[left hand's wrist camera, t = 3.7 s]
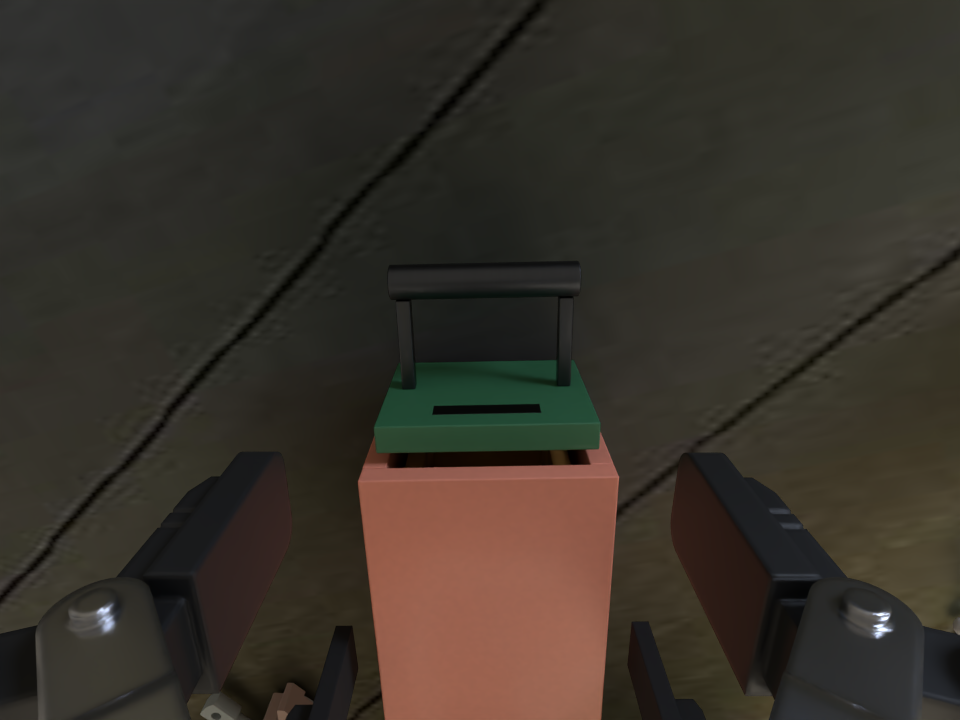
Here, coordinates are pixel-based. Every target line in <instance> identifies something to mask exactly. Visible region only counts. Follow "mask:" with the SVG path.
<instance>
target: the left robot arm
mask: <svg viewBox="0 0 960 720" xmlns="http://www.w3.org/2000/svg"><path fill="white" fill-rule="evenodd" d="M291 533H292V514H291V507H290V500H289V493H288V486H287V479H286V471H285V464H284V460H283V457H282V455H281V453H280V452H240V453H238V455H237V456H236V457H235V458H234V459H233V461H232V462H231V463H230V465H229V466H228V467H227V468H226V470H225V471H224V472H223V474H222V475H221V476H220V477H210V478H208V479H207V480H205V481H204V482H202V483H201V484H199V485H198V486H196V487H195V488H193V489H191V490H190V491H188V492H187V494H186V495H185V496H184V497H183V498H182V500H181V501H180V502H179V503H178V504H177V506H176V507H175V508H174V509H173V513H170V514H169V515H168V516H167V517H166V519H165V520H164V521H163V522H162V523H161V528H157V529H156V531H155V532H154V533H153V534H152V535H151V536H150V538H149V539H148V540H147V541H146V542H145V544H144V545H143V546H142V547H141V548H140V550H139V551H138V552H137V553H136V554H135V556H134V557H133V558H132V559H131V560H130V561H129V563H128V564H127V565H126V566H125V567H124V569H123V570H122V571H121V572H120V573H119V575H118V576H117V577H116V578H110V579H105V580H101V581H98V582H95V583H92V584H89V585H87V586H84V587H82V588H80V589H78V590H76V591H74V592H72V593H70V594H69V595H67V596H65V597H64V598H62V599H61V600H60V601H58V602H57V603H56V604H55V605H53V606H52V607H51V608H50V609H49V610H48V611H47V612H46V613H45V615H44V616H43V617H42V619H41V620H40V622H39V623H38V625H37V626H33V627H28V628H24V629H19V630H15V631H11V632H6V633H2V634H0V720H191V718H190V714H189V711H188V708H187V702H188V700H189V698H190V696H191V694H219V693H220V690H221V688H222V686H223V684H224V682H225V680H226V678H227V676H228V674H229V672H230V669H231V667H232V665H233V663H234V661H235V659H236V657H237V655H238V653H239V650H240V648H241V646H242V644H243V642H244V640H245V638H246V636H247V634H248V632H249V629H250V627H251V625H252V623H253V621H254V619H255V617H256V615H257V613H258V610H259V608H260V606H261V604H262V602H263V600H264V598H265V596H266V594H267V592H268V589H269V587H270V585H271V583H272V581H273V579H274V577H275V575H276V573H277V570H278V568H279V566H280V564H281V562H282V560H283V558H284V556H285V554H286V552H287V549H288V547H289V543H290V539H291ZM671 535H672V541H673V545H674V548H675V551H676V553H677V555H678V557H679V559H680V561H681V563H682V565H683V567H684V569H685V572H686V574H687V576H688V578H689V580H690V582H691V584H692V586H693V588H694V590H695V592H696V594H697V597H698V599H699V601H700V603H701V605H702V607H703V609H704V611H705V613H706V615H707V617H708V619H709V621H710V624H711V626H712V628H713V630H714V632H715V634H716V636H717V638H718V640H719V642H720V644H721V646H722V648H723V651H724V653H725V655H726V657H727V659H728V661H729V663H730V665H731V667H732V669H733V671H734V673H735V676H736V678H737V680H738V682H739V684H740V686H741V688H742V690H743V692H744V694H745V696H773V698H774V699H775V701H774V704H773V708H772V711H771V714H770V718H769V720H960V635H959V634H954V633H950V632H945V631H941V630H937V629H932V628H928V627H925V626H922V623H921V622H920V620H919V619H918V617H917V616H916V615H915V613H914V612H913V611H912V610H911V609H910V608H909V607H908V606H907V605H905V604H904V603H903V602H902V601H900V600H899V599H898V598H896V597H895V596H893V595H891V594H890V593H888V592H886V591H884V590H882V589H880V588H878V587H876V586H873V585H871V584H868V583H865V582H862V581H859V580H855V579H850V578H847V577H846V575H845V574H844V573H843V572H842V571H841V570H840V568H839V567H838V566H837V565H836V564H835V562H834V561H833V560H832V559H831V558H830V557H829V555H828V554H827V553H826V552H825V551H824V549H823V548H822V547H821V546H820V545H819V544H818V542H817V541H816V540H815V539H814V538H813V536H812V535H811V534H810V533H809V532H808V531H807V529H803V525H802V523H801V522H800V521H799V520H798V519H797V518H796V516H795V515H794V514H791V512H790V509H789V508H788V507H787V506H786V505H785V503H784V502H783V501H782V500H781V499H780V498H779V496H778V495H777V494H776V493H775V492H773V491H772V490H770V489H769V488H767V487H766V486H764V485H763V484H761V483H760V482H758V481H756V480H755V479H753V478H743V476H742V475H741V474H740V473H739V471H738V470H737V469H736V468H735V466H734V465H733V464H732V463H731V461H730V460H729V459H728V457H727V456H726V455H725V454H723V453H683V454H682V456H681V458H680V461H679V465H678V472H677V479H676V486H675V493H674V500H673V507H672V514H671Z"/></svg>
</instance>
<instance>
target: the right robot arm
mask: <svg viewBox="0 0 960 720" xmlns="http://www.w3.org/2000/svg"><path fill="white" fill-rule="evenodd" d="M628 668H629V672H630V676H631V679H632V683H633V687H634V690H635V694H636V698H637V701H638V705H639V709H640V712H641V716H642V720H706V719H705V716H704V714H703V711H702V710H701V708H700V707H699V706H698V705H697V703H696V702H695V701H694V700H693V699H674V696H673V693H672V690H671V687H670V684H669V681H668V678H667V675H666V672H665V669H664V666H663V663H662V661H661V658H660V655H659V652H658V649H657V646H656V643H655V640H654V637H653V634H652V631H651V628H650V625H649V622H632V625H631V635H630V645H629V655H628ZM357 672H358V663H357V656H356V649H355V642H354V635H353V628H352V626H336V628H335V631H334V635H333V638H332V641H331V645H330V648H329V651H328V655H327V658H326V662H325V665H324V668H323V672H322V675H321V678H320V682H319V685H318V689H317V692H316V695H315V699H314V702H313V705H295V706H294V707H293V708H292V710H291V711H290V712H289V714H288V715H287V716H286V719H285V720H346V719H347V715H348V710H349V706H350V702H351V697H352V693H353V689H354V684H355V680H356V676H357Z"/></svg>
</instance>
